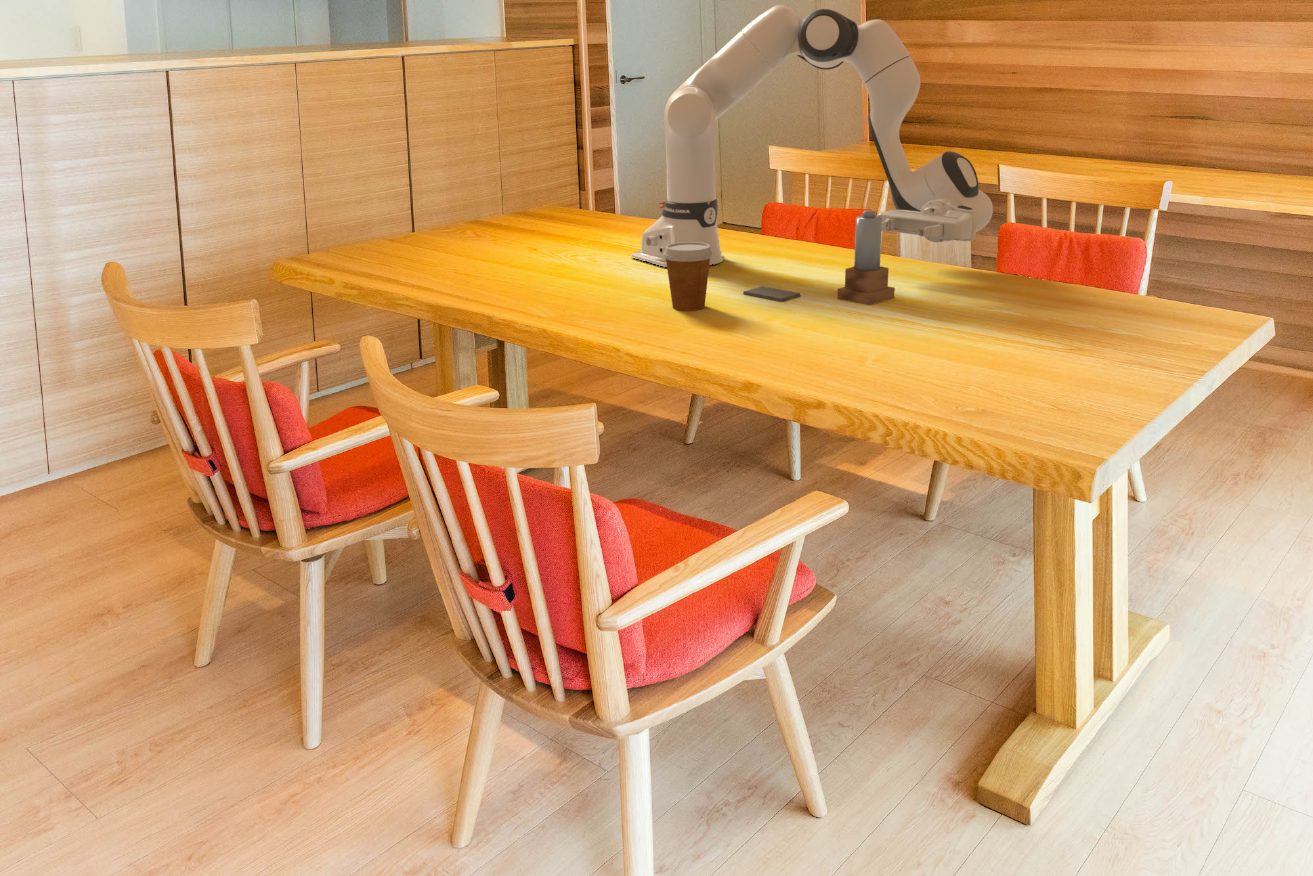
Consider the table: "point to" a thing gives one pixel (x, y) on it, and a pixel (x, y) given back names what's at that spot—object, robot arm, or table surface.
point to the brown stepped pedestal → (866, 286)
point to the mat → (771, 293)
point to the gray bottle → (868, 241)
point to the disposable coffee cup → (688, 274)
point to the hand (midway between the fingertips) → (902, 229)
